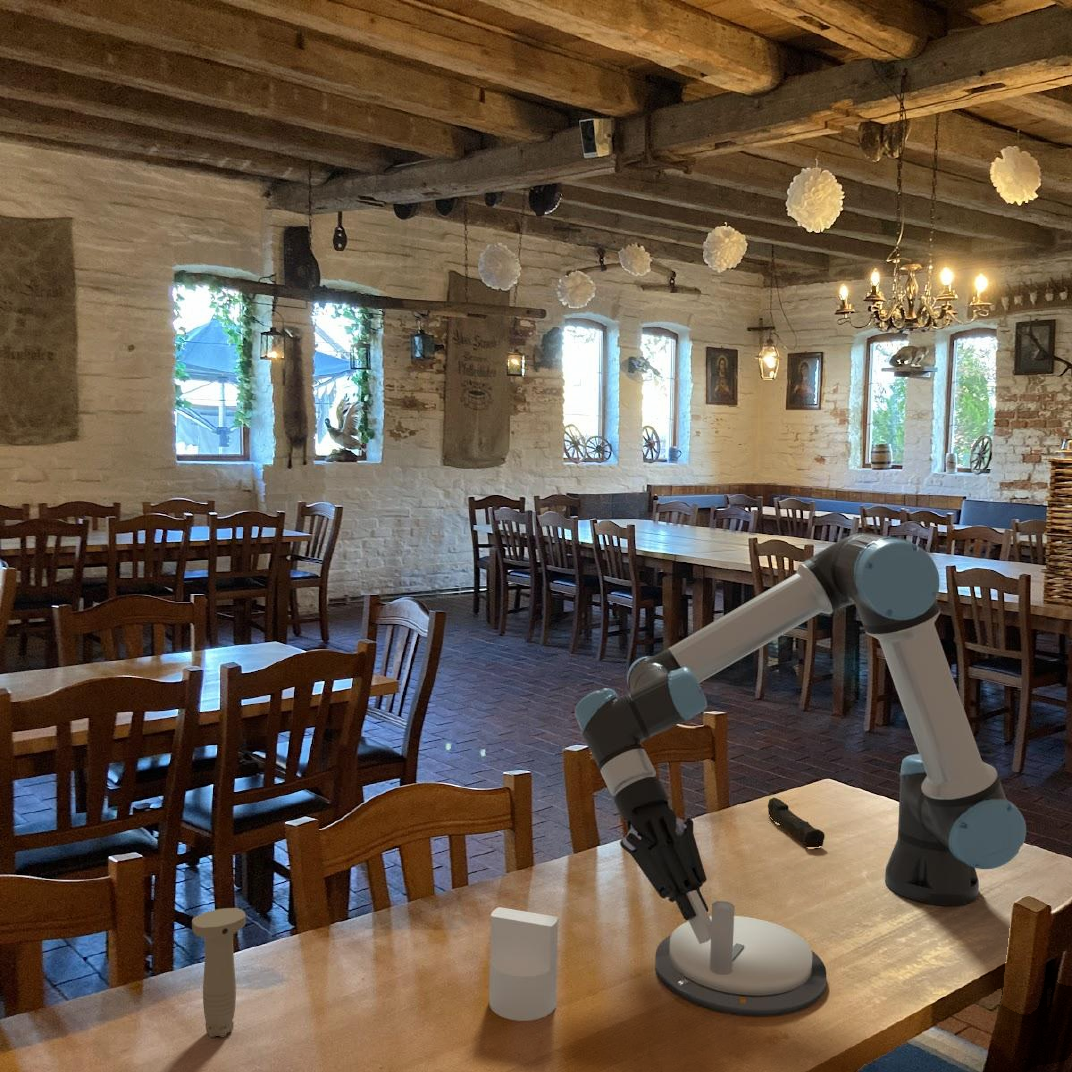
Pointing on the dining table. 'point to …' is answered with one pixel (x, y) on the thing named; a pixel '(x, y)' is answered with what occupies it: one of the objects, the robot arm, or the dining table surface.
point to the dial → (742, 955)
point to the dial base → (736, 1002)
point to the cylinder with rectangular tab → (523, 964)
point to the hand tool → (795, 824)
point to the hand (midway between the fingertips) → (708, 939)
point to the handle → (219, 966)
